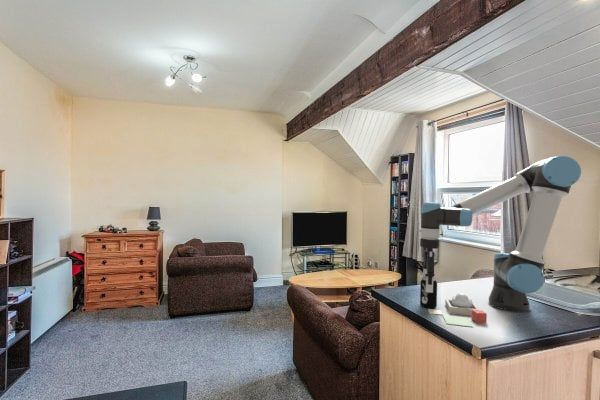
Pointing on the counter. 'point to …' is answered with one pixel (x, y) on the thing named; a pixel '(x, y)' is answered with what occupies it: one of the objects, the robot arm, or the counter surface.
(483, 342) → the counter surface
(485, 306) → the counter surface
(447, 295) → the counter surface
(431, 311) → the track space
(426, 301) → the beverage can
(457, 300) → the dome
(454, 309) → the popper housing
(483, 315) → the red die
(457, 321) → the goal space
